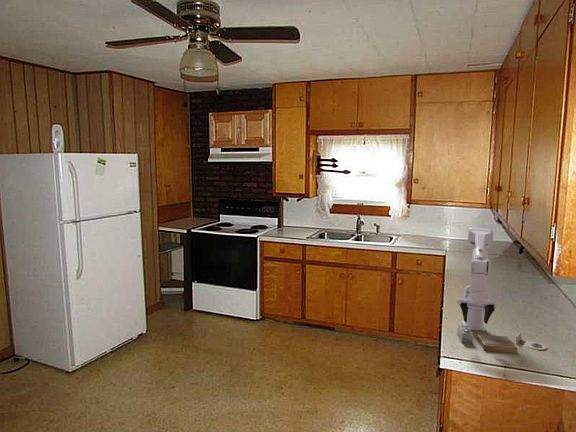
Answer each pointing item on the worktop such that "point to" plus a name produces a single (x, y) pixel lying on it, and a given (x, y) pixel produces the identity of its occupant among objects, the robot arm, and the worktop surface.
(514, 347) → the stand
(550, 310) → the worktop surface
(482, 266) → the robot arm
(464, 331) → the housing
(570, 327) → the worktop surface
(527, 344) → the bracket
